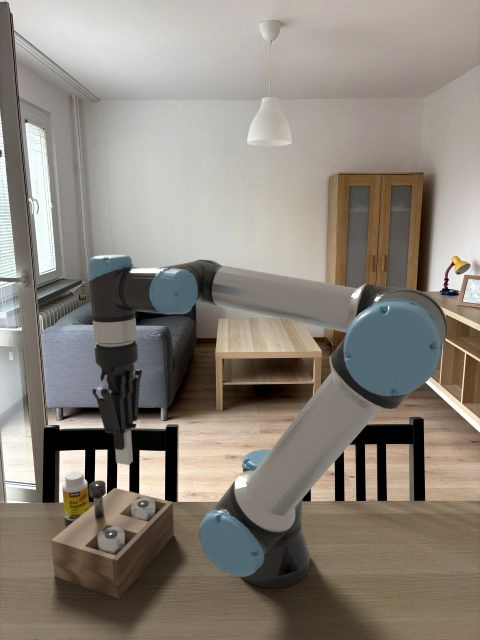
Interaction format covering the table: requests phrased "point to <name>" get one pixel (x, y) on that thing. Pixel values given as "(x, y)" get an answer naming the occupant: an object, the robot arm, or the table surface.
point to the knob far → (143, 509)
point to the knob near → (111, 540)
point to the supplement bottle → (75, 495)
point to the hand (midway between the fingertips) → (124, 462)
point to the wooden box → (103, 568)
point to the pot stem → (98, 496)
